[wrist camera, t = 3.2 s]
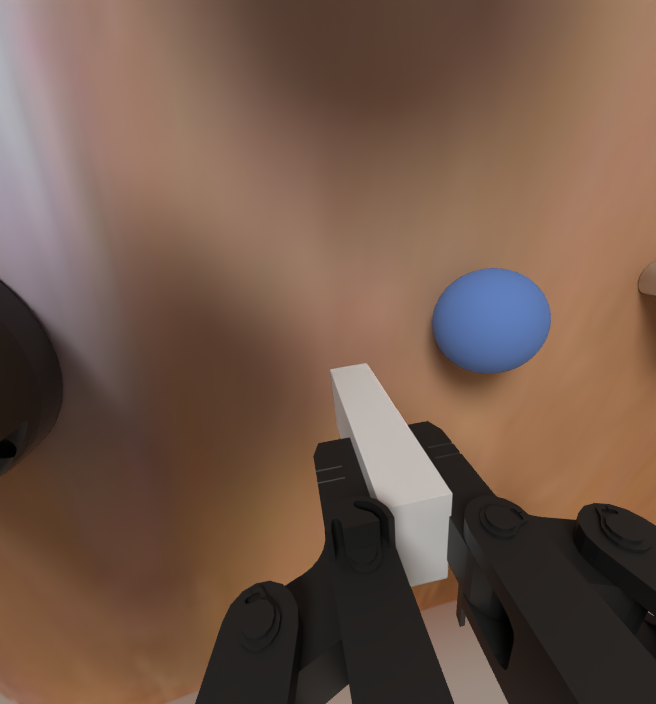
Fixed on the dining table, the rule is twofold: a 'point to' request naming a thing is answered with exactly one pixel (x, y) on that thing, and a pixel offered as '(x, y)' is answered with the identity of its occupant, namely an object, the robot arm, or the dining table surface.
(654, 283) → the pin
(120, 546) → the dining table surface
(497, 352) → the ball
